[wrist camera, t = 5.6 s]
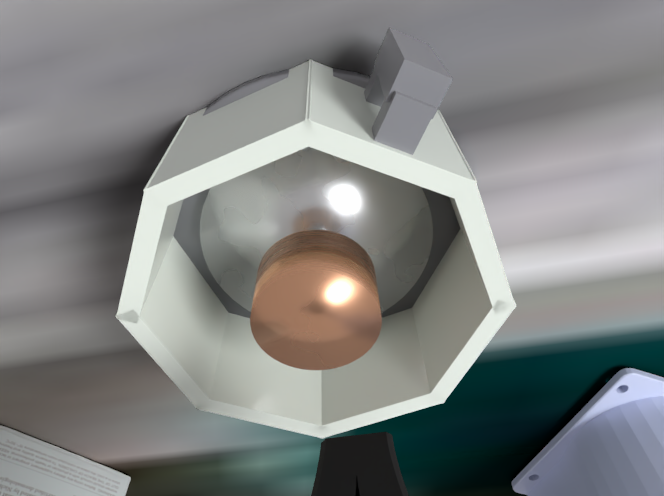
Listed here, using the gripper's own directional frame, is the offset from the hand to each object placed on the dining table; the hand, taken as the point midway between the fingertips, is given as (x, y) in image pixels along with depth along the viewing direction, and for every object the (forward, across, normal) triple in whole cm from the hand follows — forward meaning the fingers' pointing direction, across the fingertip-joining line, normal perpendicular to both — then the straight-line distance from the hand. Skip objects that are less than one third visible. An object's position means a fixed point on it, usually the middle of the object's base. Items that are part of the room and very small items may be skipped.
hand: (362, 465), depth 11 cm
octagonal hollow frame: (+10, +1, 0) cm, 10 cm away
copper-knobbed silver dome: (+9, +1, 0) cm, 9 cm away
